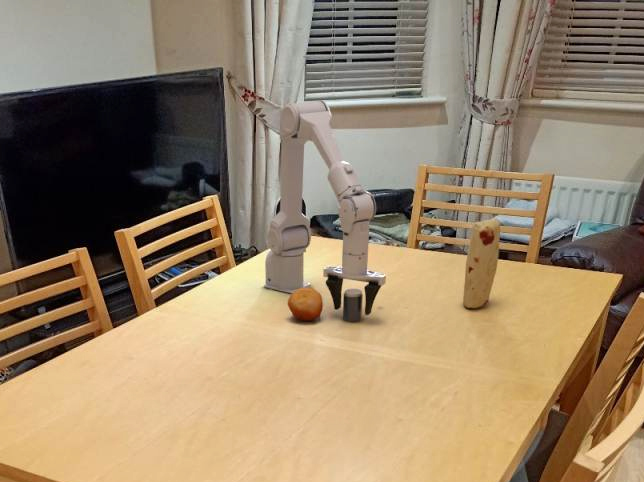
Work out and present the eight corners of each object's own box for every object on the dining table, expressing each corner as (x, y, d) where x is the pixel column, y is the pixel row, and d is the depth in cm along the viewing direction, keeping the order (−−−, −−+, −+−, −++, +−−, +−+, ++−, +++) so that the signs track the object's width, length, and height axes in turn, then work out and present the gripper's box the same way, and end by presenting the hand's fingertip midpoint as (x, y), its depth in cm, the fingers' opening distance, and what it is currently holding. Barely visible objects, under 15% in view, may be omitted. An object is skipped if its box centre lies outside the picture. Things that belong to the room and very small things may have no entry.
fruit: (324, 304, 181) (323, 281, 174) (322, 331, 178) (321, 309, 170) (290, 303, 182) (288, 280, 174) (288, 330, 178) (285, 308, 171)
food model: (480, 313, 179) (492, 226, 168) (454, 308, 182) (464, 222, 171) (496, 301, 186) (509, 217, 174) (471, 296, 189) (482, 213, 177)
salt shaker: (346, 323, 175) (347, 295, 171) (340, 316, 178) (341, 289, 175) (364, 321, 176) (365, 293, 172) (357, 314, 179) (359, 287, 176)
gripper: (392, 251, 168) (388, 310, 176) (332, 243, 174) (331, 300, 182) (380, 259, 163) (377, 320, 171) (319, 251, 169) (318, 310, 176)
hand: (352, 311), depth 176 cm, fingers open, 7 cm apart
